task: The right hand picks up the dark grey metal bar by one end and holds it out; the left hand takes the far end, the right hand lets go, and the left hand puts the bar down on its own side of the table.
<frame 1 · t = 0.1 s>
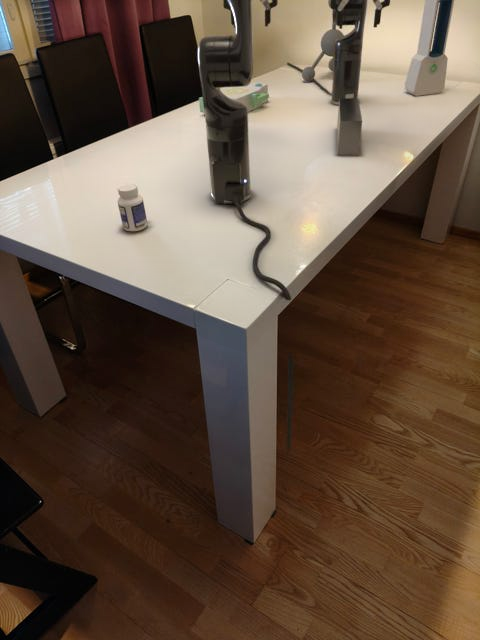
left hand: (251, 26, 133), 29 cm above the table, tool pointing down, fingers open, 8 cm apart
right hand: (357, 27, 123), 29 cm above the table, tool pointing down, fingers open, 8 cm apart
molecular model: (325, 79, 206), on the table
pill bottle: (135, 227, 105), on the table
electronic device: (423, 92, 181), on the table
bar: (347, 141, 142), on the table
decorative block: (235, 108, 176), on the table
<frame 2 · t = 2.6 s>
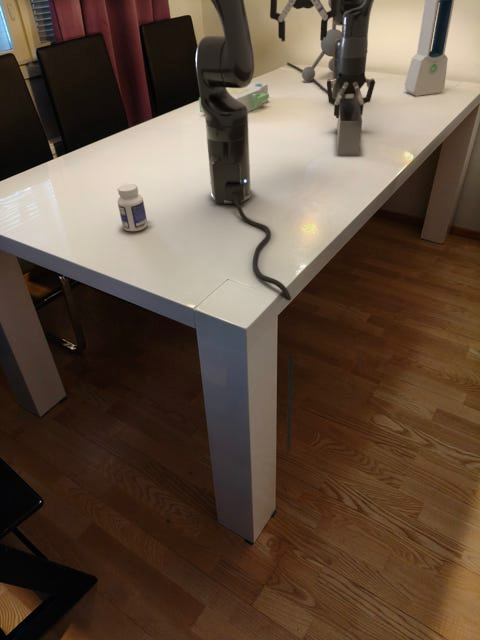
left hand: (302, 40, 108), 30 cm above the table, tool pointing down, fingers open, 8 cm apart
right hand: (347, 117, 146), 5 cm above the table, tool pointing down, fingers closed on bar, 5 cm apart
bar: (347, 141, 142), on the table, touching right hand
everything else where it was.
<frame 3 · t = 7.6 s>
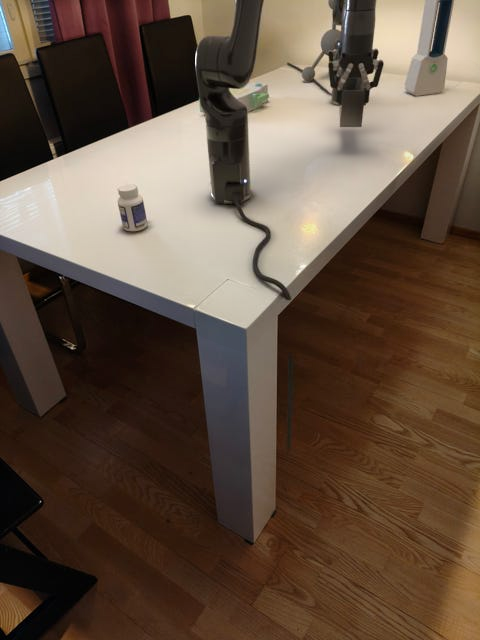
left hand: (352, 104, 128), 12 cm above the table, tool pointing down, fingers closed on bar, 5 cm apart
right hand: (350, 89, 141), 12 cm above the table, tool pointing down, fingers closed on bar, 5 cm apart
bar: (349, 114, 138), point 8 cm above the table, touching left hand, right hand
everything else where it was.
when the right hand's fingers open (12 cm above the table, at t = 8.6 s): bar stays where it is, held by the left hand.
when the left hand's fingers open (6 cm above the table, at t = 15.0 s): bar drops 2 cm, on the table.
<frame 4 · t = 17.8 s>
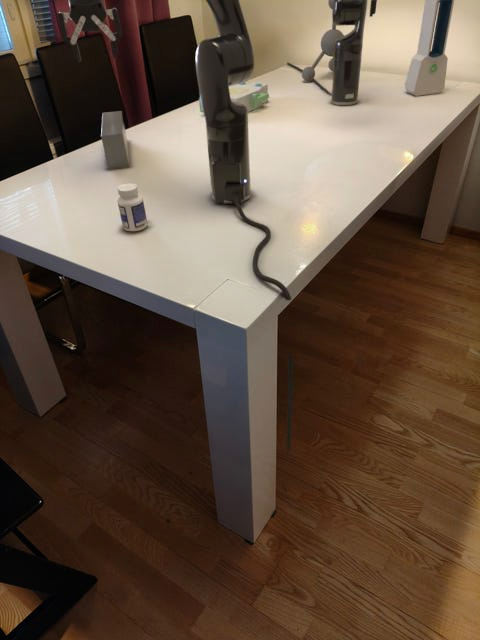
left hand: (97, 59, 121), 26 cm above the table, tool pointing down, fingers open, 8 cm apart
right hand: (355, 17, 135), 30 cm above the table, tool pointing down, fingers open, 8 cm apart
bar: (118, 154, 143), on the table
everything else where it was.
at the end: bar inside the target area (8.1 cm from its centre), on the table; the left hand is holding nothing; the right hand is holding nothing; bar at rest at the end (0.0 cm/s) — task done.
